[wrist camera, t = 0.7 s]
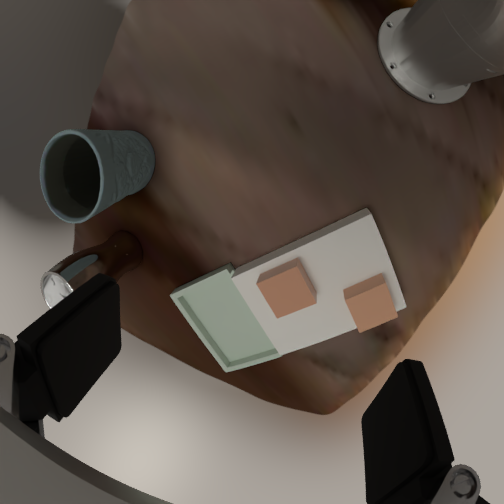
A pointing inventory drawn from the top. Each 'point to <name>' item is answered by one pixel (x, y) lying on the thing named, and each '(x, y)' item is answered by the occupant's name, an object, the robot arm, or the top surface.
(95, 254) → the beer glass
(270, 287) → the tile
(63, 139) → the grey cup
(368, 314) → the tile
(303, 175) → the top surface
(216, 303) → the tray
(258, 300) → the white slab
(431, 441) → the robot arm
